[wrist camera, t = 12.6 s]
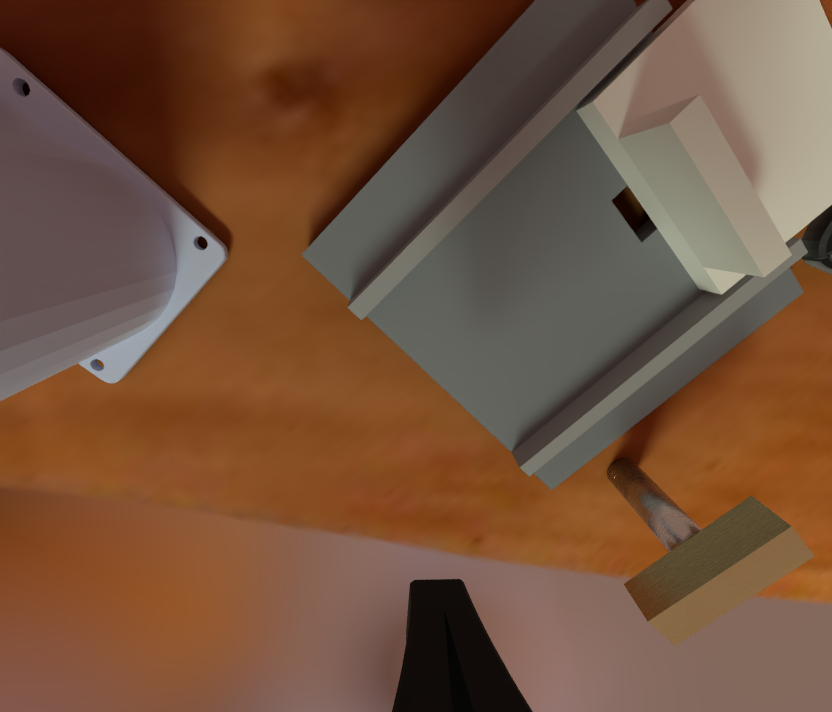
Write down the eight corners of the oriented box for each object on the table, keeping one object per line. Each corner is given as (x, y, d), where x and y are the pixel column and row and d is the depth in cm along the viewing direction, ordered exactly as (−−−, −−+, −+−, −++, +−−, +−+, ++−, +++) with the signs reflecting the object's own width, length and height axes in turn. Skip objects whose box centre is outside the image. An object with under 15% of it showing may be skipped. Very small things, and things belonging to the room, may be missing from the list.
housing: (307, 252, 16) (294, 258, 14) (577, -43, 14) (616, -93, 11) (542, 475, 21) (561, 506, 19) (778, 287, 18) (833, 297, 16)
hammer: (566, 494, 22) (647, 621, 15) (658, 423, 20) (791, 526, 14) (587, 514, 22) (675, 645, 15) (678, 446, 21) (815, 556, 14)
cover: (575, 110, 14) (640, 76, 11) (746, -60, 13) (886, -165, 9) (699, 289, 17) (784, 309, 13) (851, 162, 15) (991, 147, 12)
